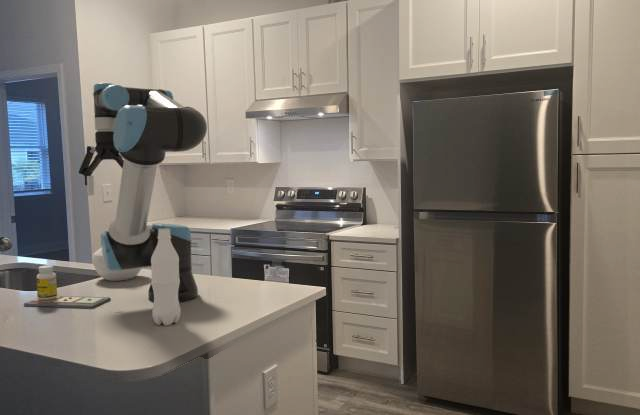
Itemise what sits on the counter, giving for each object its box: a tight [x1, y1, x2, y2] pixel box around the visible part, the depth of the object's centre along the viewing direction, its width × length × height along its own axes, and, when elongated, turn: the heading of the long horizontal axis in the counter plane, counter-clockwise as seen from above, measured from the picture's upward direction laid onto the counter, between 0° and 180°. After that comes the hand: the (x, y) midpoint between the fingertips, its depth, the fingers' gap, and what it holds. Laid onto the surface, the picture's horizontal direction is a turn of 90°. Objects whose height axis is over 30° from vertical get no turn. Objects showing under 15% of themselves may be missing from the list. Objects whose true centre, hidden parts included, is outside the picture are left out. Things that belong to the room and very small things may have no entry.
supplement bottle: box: [36, 264, 58, 300], centre depth 164 cm, size 5×5×10 cm
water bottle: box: [150, 228, 182, 327], centre depth 141 cm, size 7×7×25 cm
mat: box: [23, 295, 112, 309], centre depth 163 cm, size 22×10×1 cm, turn 82°
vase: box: [91, 246, 143, 282], centre depth 198 cm, size 18×18×19 cm
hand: (109, 195), depth 179 cm, fingers open, 13 cm apart
